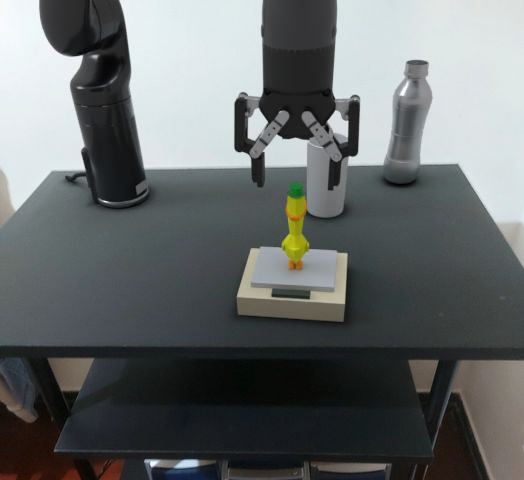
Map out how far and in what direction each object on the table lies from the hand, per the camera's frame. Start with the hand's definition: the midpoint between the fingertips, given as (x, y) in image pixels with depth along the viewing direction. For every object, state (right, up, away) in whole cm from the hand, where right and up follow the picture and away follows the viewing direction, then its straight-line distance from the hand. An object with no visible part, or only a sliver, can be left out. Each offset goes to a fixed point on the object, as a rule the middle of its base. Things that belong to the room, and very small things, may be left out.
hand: (295, 186), depth 66 cm
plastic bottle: (+22, +12, +35) cm, 43 cm away
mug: (+7, +5, +29) cm, 30 cm away
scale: (0, -12, +10) cm, 15 cm away
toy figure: (0, -8, +8) cm, 12 cm away
